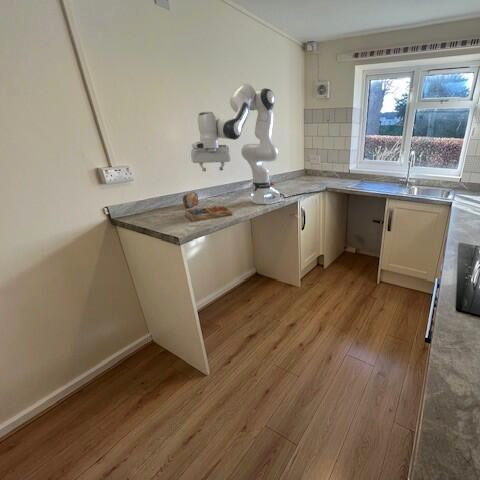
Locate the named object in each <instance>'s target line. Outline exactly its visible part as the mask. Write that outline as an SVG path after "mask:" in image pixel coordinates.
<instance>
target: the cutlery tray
mask: <svg viewBox="0 0 480 480" xmlns="http://www.w3.org/2000/svg"><path fill="white" fill-rule="evenodd" d="M216 206H217V207H219V208H220V211H222V212H215V211H214V206H209V207H201V208H198V209H199V210H201V213H203V214H202V215H197V214H196V211H195V208H194V209H187V210H185V211H184V212H185V216H186V217H187V218H188V219H189V220H190V221H192V222H196V221H203V220H209V219H216V218H223V217H229V216H232V215H233V212H232V211H233V210H231V209H230V208H228V207H227V206H226V205H216Z"/></svg>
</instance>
